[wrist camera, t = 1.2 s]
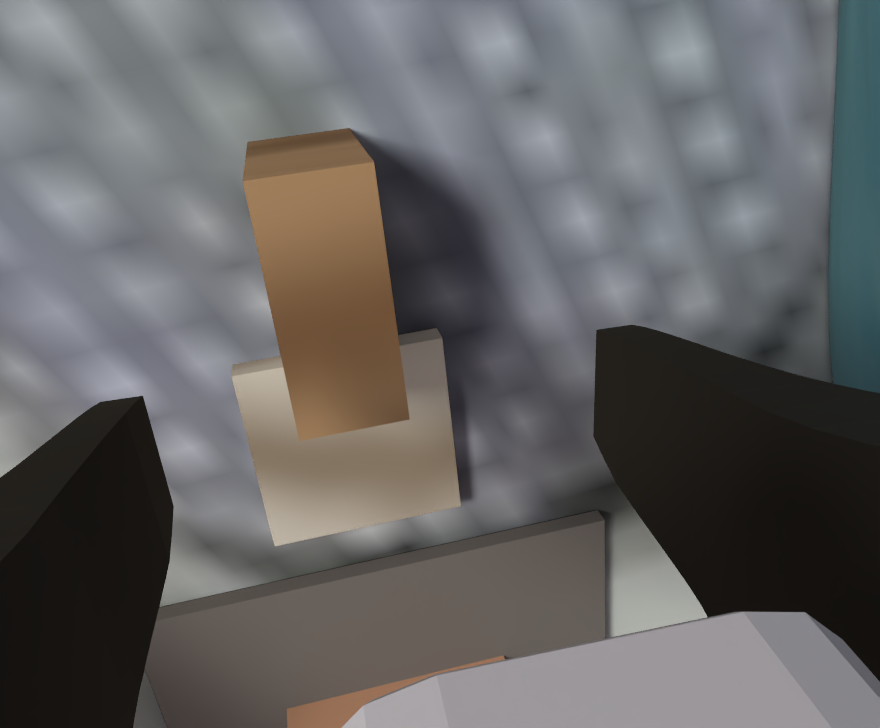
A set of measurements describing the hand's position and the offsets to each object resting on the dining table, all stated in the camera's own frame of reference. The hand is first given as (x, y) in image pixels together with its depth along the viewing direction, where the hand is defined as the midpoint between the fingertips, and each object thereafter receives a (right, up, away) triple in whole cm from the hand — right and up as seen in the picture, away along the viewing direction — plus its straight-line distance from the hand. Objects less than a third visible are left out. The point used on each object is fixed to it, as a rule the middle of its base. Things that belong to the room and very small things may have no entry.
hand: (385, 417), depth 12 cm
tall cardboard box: (-2, +1, +10) cm, 10 cm away
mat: (0, -14, +17) cm, 22 cm away
